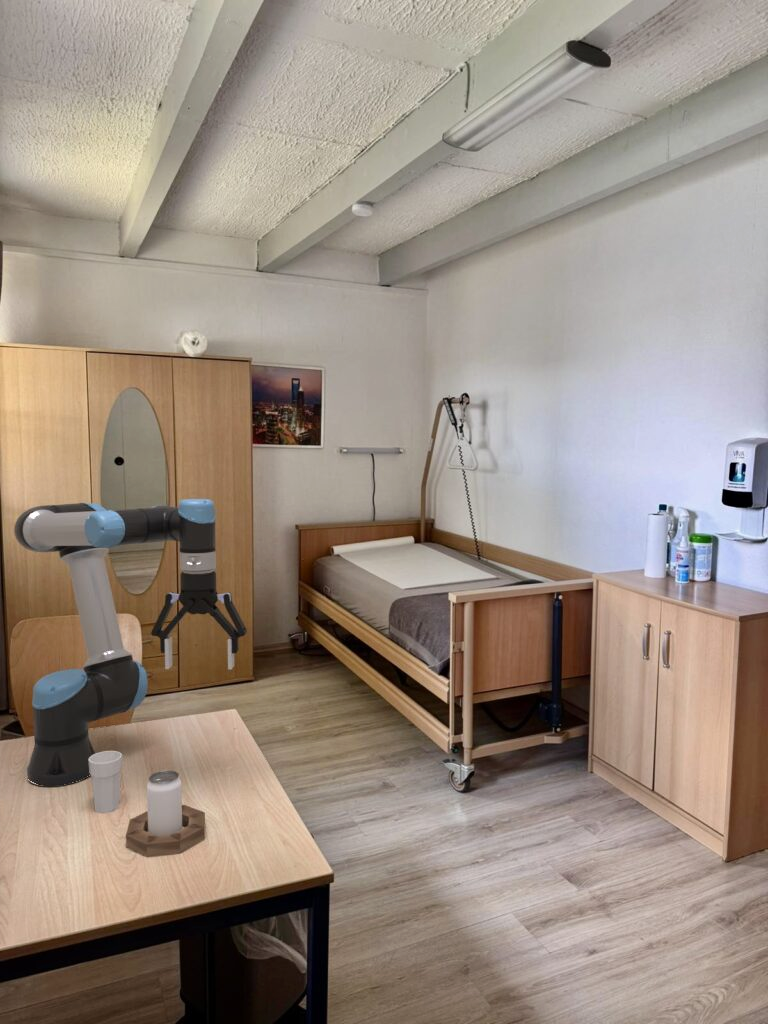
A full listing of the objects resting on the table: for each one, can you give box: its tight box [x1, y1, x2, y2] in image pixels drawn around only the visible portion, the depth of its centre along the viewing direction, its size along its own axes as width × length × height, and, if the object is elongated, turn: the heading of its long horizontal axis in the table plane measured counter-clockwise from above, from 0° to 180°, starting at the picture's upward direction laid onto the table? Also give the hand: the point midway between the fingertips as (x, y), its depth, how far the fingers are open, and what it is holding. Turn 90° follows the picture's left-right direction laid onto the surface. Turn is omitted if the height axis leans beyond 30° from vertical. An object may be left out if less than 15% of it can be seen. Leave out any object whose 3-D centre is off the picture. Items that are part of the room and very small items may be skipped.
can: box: [146, 769, 183, 835], centre depth 145 cm, size 6×6×12 cm
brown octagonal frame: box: [125, 804, 206, 858], centre depth 145 cm, size 14×14×2 cm
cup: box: [88, 750, 123, 814], centre depth 156 cm, size 7×7×11 cm
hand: (200, 667), depth 160 cm, fingers open, 13 cm apart
